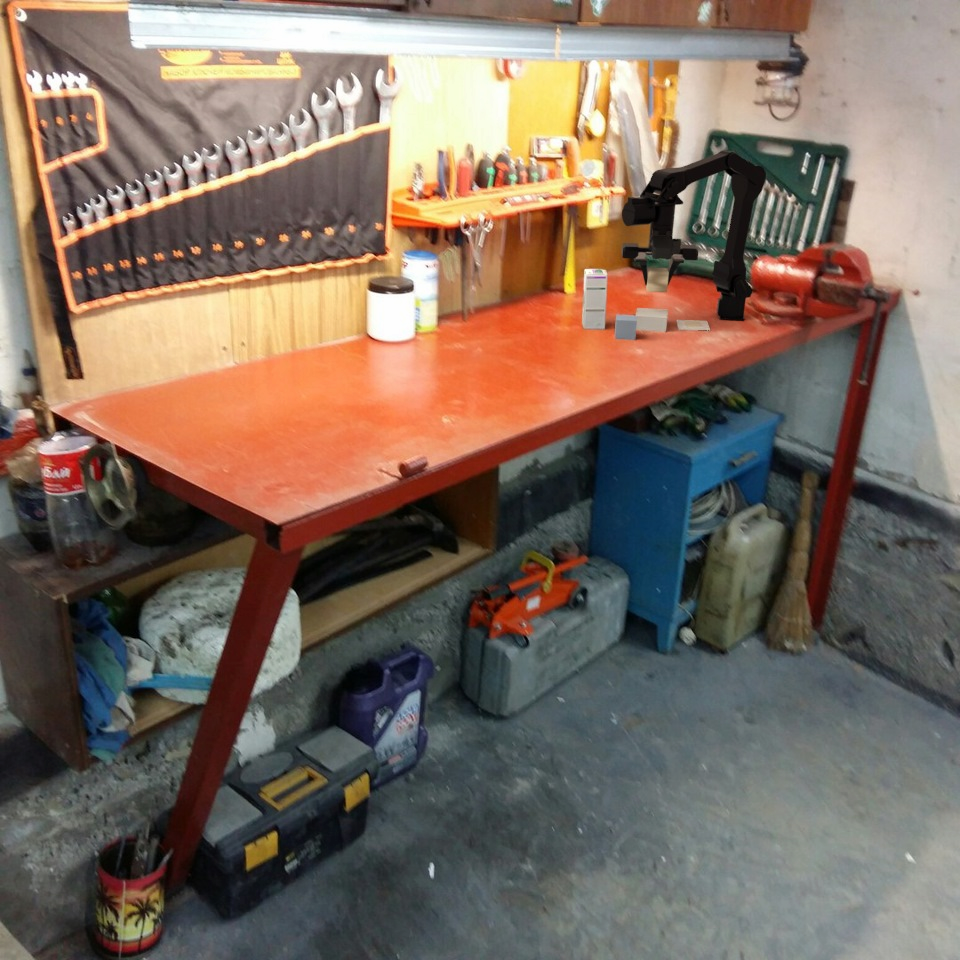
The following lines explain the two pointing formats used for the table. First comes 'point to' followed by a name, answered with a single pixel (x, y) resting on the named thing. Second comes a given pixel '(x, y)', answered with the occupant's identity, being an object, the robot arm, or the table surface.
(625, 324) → the slate-blue cube
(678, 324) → the tile
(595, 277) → the syrup box
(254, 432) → the table surface
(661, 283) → the birch cube
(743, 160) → the robot arm
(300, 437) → the table surface
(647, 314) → the base block
